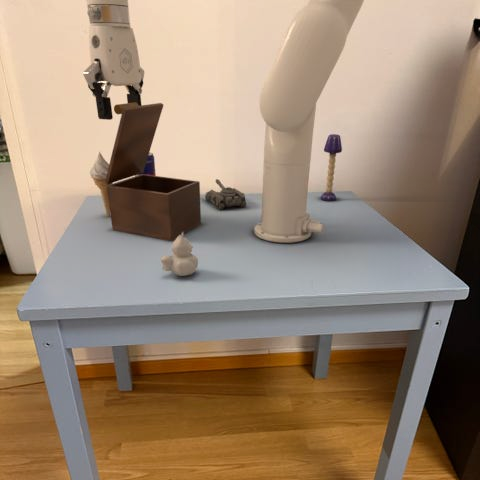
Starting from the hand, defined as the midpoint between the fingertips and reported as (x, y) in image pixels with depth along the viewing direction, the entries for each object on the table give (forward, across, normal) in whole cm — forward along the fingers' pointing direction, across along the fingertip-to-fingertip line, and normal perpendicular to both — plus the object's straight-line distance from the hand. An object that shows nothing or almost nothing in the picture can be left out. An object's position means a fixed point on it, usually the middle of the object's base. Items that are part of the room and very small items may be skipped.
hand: (121, 116), depth 95 cm
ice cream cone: (+23, +1, +8) cm, 24 cm away
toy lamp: (+23, +41, -35) cm, 58 cm away
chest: (+23, 0, -7) cm, 24 cm away
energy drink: (+23, +17, +8) cm, 30 cm away
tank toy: (+23, +24, -12) cm, 35 cm away
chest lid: (+5, 0, -3) cm, 6 cm away
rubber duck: (+23, -20, -25) cm, 40 cm away
